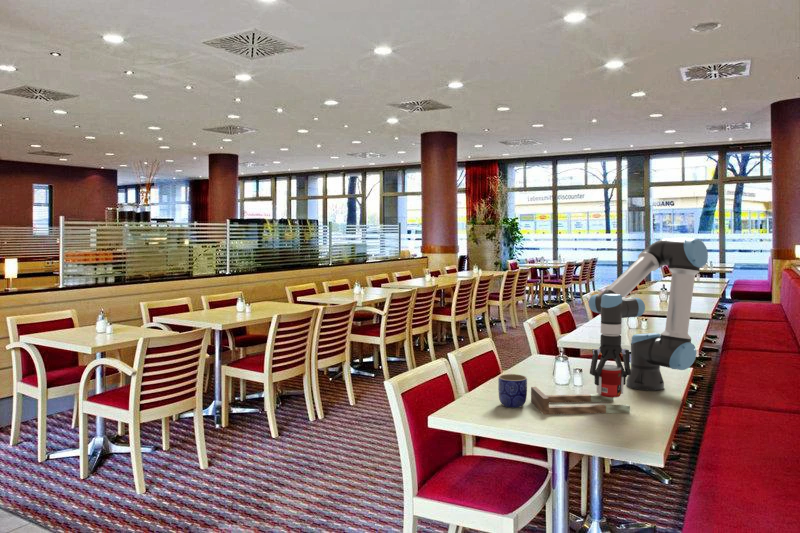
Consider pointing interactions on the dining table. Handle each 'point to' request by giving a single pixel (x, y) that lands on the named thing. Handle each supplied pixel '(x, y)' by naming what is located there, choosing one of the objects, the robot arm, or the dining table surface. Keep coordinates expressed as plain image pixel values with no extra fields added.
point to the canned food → (610, 381)
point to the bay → (543, 401)
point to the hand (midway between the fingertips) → (609, 393)
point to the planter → (512, 390)
